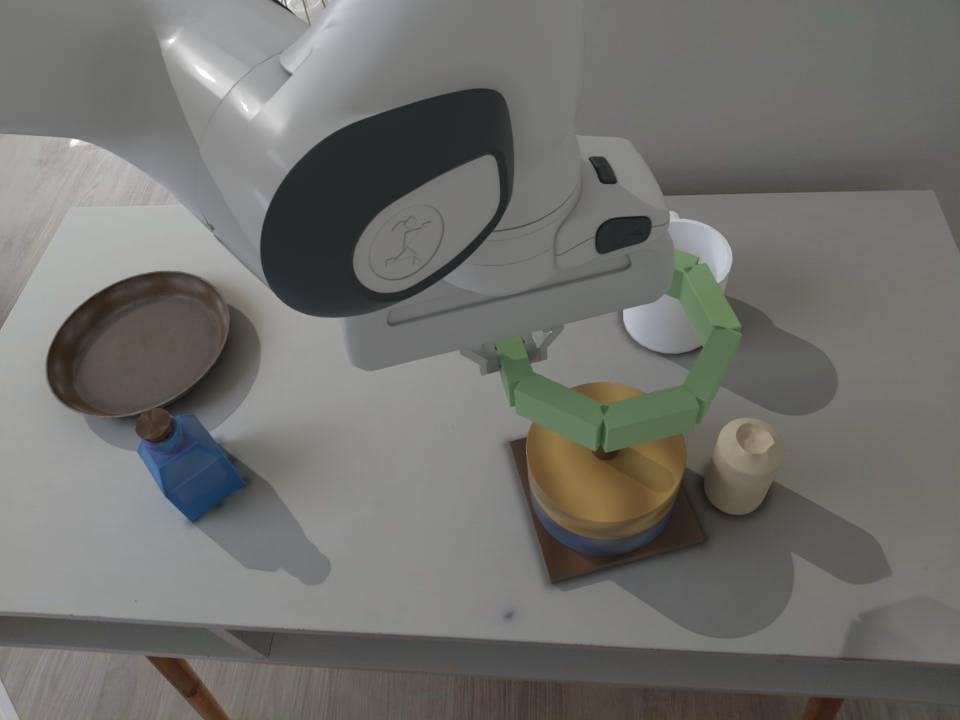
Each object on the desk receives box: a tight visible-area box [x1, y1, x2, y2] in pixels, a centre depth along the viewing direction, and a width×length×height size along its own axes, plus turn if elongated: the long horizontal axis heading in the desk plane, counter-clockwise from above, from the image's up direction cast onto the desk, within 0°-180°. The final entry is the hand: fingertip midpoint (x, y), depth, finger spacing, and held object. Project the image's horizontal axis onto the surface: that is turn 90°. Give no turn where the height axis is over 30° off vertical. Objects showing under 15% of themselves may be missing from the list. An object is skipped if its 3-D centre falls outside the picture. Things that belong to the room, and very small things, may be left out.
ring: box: [495, 248, 743, 453], centre depth 52 cm, size 16×16×3 cm
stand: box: [508, 381, 705, 584], centre depth 67 cm, size 14×14×13 cm
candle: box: [703, 417, 786, 516], centre depth 67 cm, size 6×6×10 cm
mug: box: [622, 210, 733, 355], centre depth 80 cm, size 13×10×10 cm
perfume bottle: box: [134, 408, 247, 523], centre depth 72 cm, size 6×6×12 cm
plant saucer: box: [44, 270, 231, 419], centre depth 86 cm, size 21×21×3 cm
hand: (511, 360), depth 51 cm, fingers closed on ring, 2 cm apart
